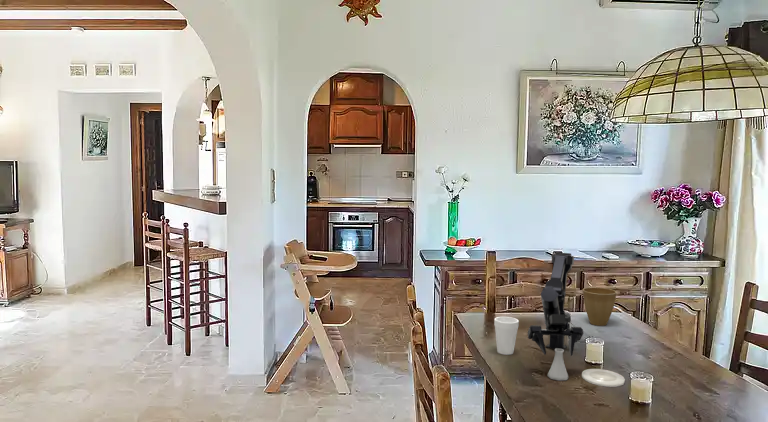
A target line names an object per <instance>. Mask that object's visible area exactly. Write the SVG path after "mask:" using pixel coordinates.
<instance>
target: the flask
mask: <svg viewBox="0 0 768 422" xmlns="http://www.w3.org/2000/svg"><path fill="white" fill-rule="evenodd" d="M564 352H565V349H559V348H555V349H554V358H553V361H552V363H551V366H550V369H549V371H548V373H547V377H548V378H549V379H550V380H553V381H568V379H569V374H568V372H567V369H566V365H565V362H564Z"/></svg>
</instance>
